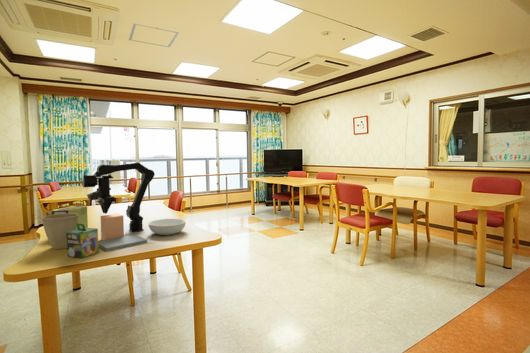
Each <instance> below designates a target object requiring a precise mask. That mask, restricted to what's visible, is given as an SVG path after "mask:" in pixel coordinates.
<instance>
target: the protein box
mask: <svg viewBox="0 0 530 353" xmlns="http://www.w3.org/2000/svg"><path fill="white" fill-rule="evenodd" d="M65 213H76V214H78V220H77V223H79V224H84V226H85V228H89V223H88V222H89V220H88V206H83V205H79V206H78V205H77V206H76V205H74V206H73V205H71V206H67V207H61V208H57V209H53V210H51V215H54V214H65ZM79 227H80V228H83V227H82V226H79ZM76 229H78V228H77V226H76Z"/></svg>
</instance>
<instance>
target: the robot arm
mask: <svg viewBox="0 0 530 353" xmlns="http://www.w3.org/2000/svg"><path fill="white" fill-rule="evenodd" d="M130 170H136V171H137V172H139V173H140V174H141V177H140V183H139V187H138V188H137V192H136V194H135V196H134V199H133V200H132V201H133V202H132V204H131V205H127V209H126V210H125V214H126V216H127V218H129V224H128V227H129V232H132V233H136V232H141V231H144V229H143V220H144V217H143V216H141V215H140V212H141V204H142V201H143V199H144V196H145V194H146V191H147V189H148V185H149V184H150V183H151V182H152V181H153V179H154V177H155V172H154V170H152V169H149V168H148V167H146V166H144V165H143V164H141V163H140V162H132V163H131V162H130V163H124V164H122V163H121V164H115V165H114V164H100V165H98V166H97V168H96V172H94V174H90V175H86V174H84V175H83V176H82V187H83V188H96V186H98V187H97V188H96V190H95V191H93V192H90V193H88V194H86V196H87V199H88V201H96V203H98V204H99V206H100V208H101V211H102V214H108V211H109V210H110V208H111V206H112V204H113V203H116V202H117V198H116V197H115V196H112V195H111V190H112V188H111V186H110V185H111V184H110V183H111V182H110V179H114V176H112V175H111V174H113V173H116V172H122V171H130Z"/></svg>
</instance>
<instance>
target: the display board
mask: <svg viewBox="0 0 530 353" xmlns="http://www.w3.org/2000/svg"><path fill="white" fill-rule="evenodd" d="M146 243H148V239H147V238H144V237H142V236H140V235H137V234H135V233H134V234H129V235H124V236H123V237H118V238H112V239H107V240H102V239H101V240H98V244H99V248H101V249H102V250H104V251H106V252H109V251H113V250H118V249H124V248H128V247H133V246H137V245H141V244H142V245H143V244H146Z"/></svg>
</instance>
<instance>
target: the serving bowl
mask: <svg viewBox="0 0 530 353" xmlns="http://www.w3.org/2000/svg"><path fill="white" fill-rule="evenodd" d="M148 227H149V230H150V231H151V232H152V233H154V234H157V235H161V236H171V235H175V234H177V233H179V232H181V231H183V230H184V228H185V227H186V220H185V219H182V218H180V219H179V218H162V219H161V218H160V219H157V220H156V219H155V220H153V221H150V222H148ZM170 234H171V235H170Z"/></svg>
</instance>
